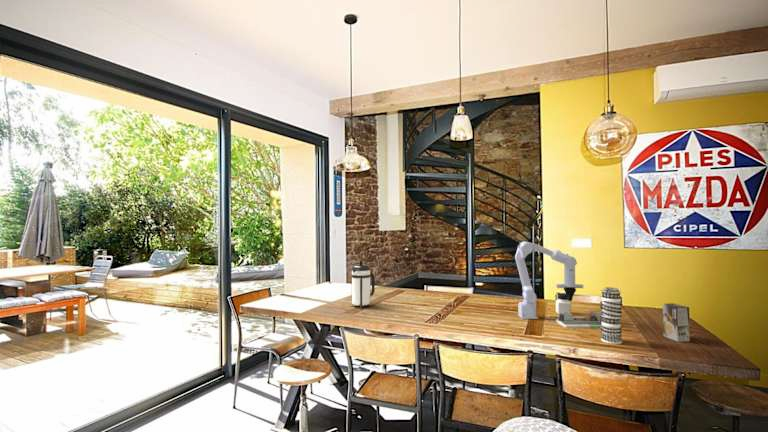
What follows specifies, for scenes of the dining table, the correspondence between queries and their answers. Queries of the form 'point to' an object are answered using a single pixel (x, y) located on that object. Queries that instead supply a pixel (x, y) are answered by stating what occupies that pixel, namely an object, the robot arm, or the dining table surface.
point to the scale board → (582, 322)
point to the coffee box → (676, 322)
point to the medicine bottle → (563, 304)
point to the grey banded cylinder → (611, 316)
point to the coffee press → (362, 284)
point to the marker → (589, 317)
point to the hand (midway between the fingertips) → (569, 300)
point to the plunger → (567, 317)
